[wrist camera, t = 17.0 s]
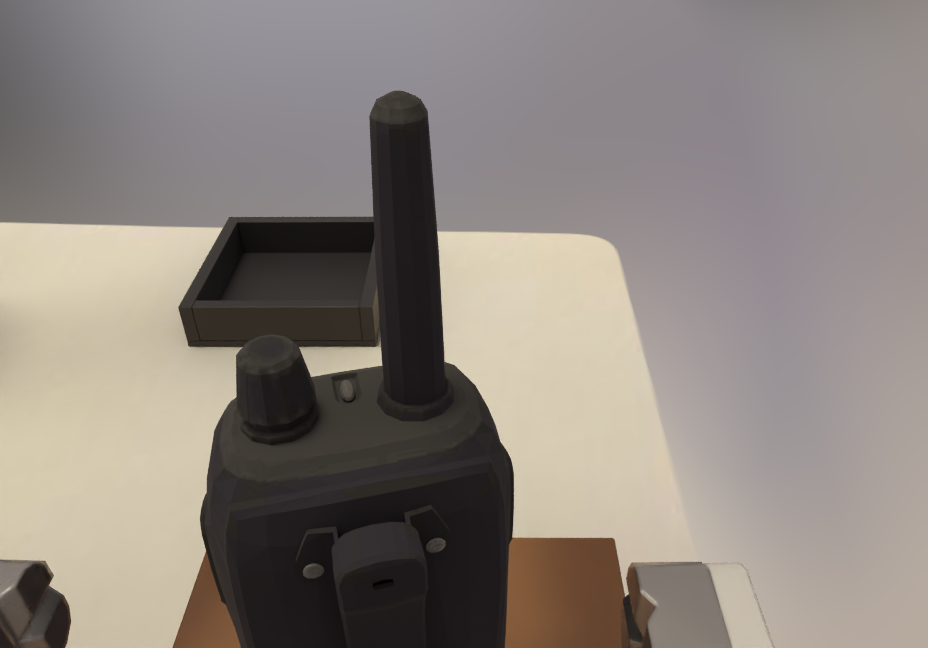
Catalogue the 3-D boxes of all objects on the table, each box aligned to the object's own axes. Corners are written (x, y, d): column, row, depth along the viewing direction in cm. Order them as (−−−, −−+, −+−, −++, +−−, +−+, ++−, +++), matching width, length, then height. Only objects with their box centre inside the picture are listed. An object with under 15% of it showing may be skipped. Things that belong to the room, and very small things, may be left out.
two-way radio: (485, 640, 20) (493, 51, 11) (541, 824, 16) (614, 173, 8) (269, 692, 19) (92, 84, 10) (279, 900, 15) (23, 244, 7)
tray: (392, 251, 57) (390, 216, 55) (376, 346, 47) (372, 307, 45) (236, 252, 57) (228, 217, 55) (188, 346, 47) (177, 307, 46)
